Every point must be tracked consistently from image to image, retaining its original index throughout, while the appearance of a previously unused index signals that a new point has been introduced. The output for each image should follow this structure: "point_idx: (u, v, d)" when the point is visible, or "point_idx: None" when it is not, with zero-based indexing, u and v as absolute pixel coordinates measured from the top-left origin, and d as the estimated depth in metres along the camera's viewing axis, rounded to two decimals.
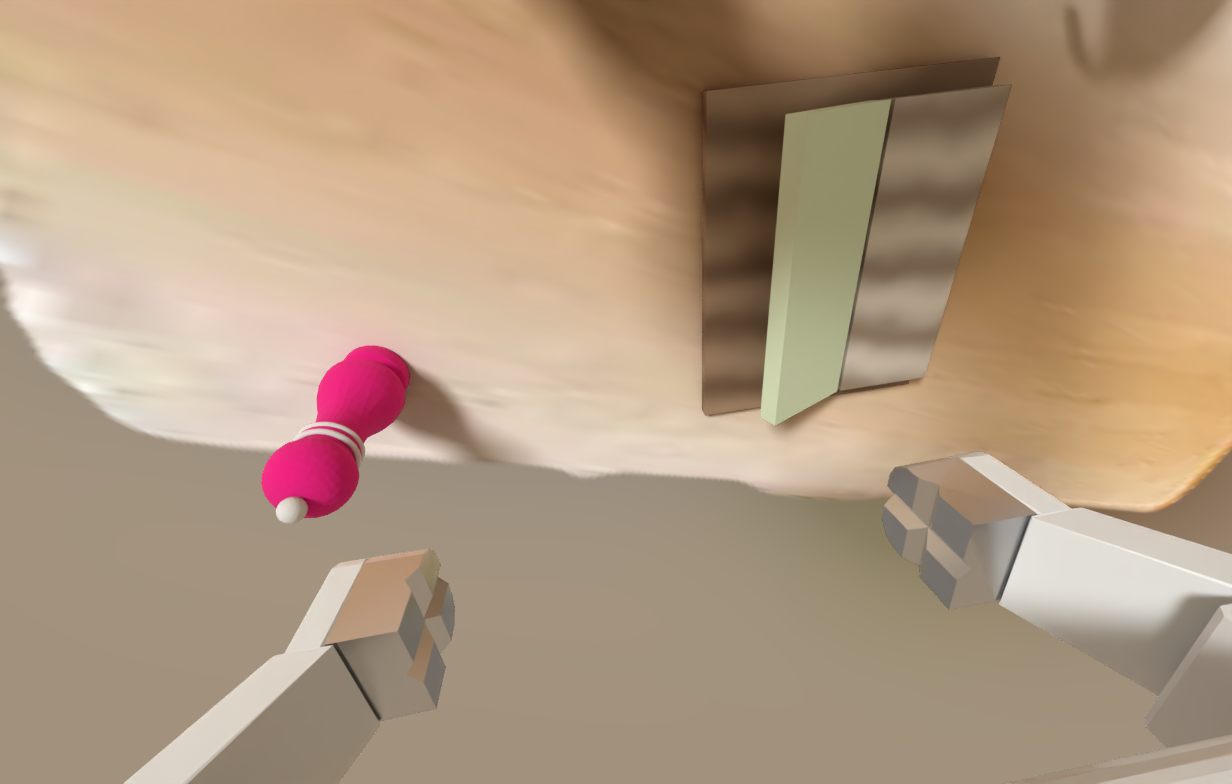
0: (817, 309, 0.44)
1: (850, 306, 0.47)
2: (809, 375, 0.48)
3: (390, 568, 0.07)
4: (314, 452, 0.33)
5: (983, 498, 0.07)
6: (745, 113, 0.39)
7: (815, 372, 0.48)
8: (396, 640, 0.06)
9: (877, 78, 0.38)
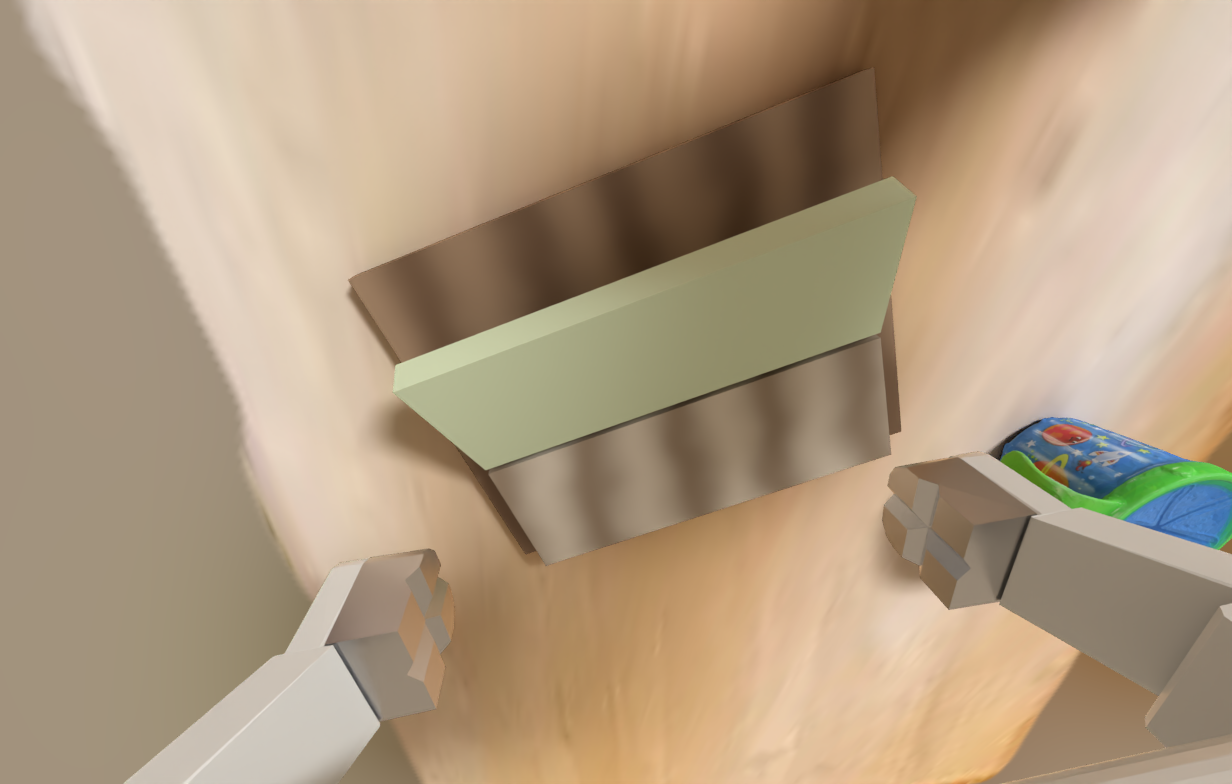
0: (618, 366, 0.27)
1: (622, 419, 0.31)
2: (506, 410, 0.28)
3: (390, 568, 0.07)
4: None
5: (983, 498, 0.07)
6: (846, 145, 0.27)
7: (512, 418, 0.29)
8: (396, 640, 0.06)
9: None
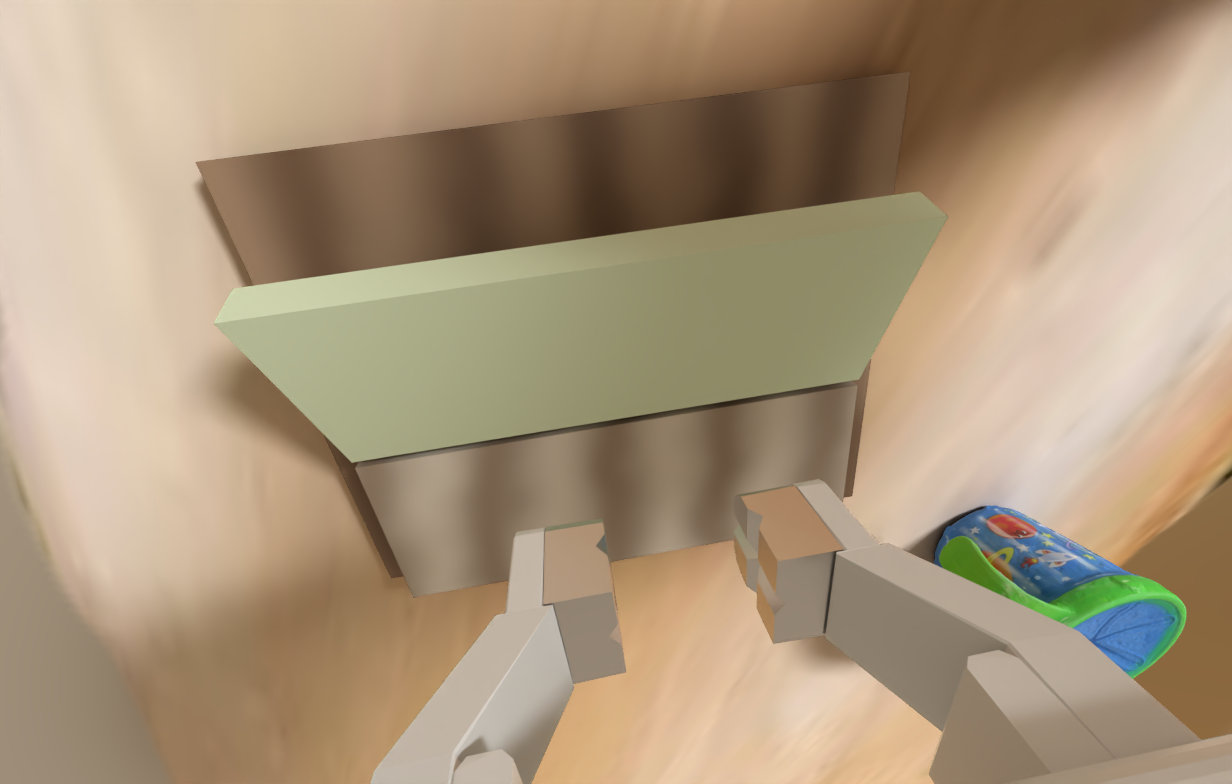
0: (552, 355, 0.21)
1: (545, 426, 0.25)
2: (389, 384, 0.21)
3: (575, 536, 0.07)
4: None
5: (799, 532, 0.07)
6: (863, 154, 0.23)
7: (397, 398, 0.21)
8: (607, 601, 0.06)
9: None
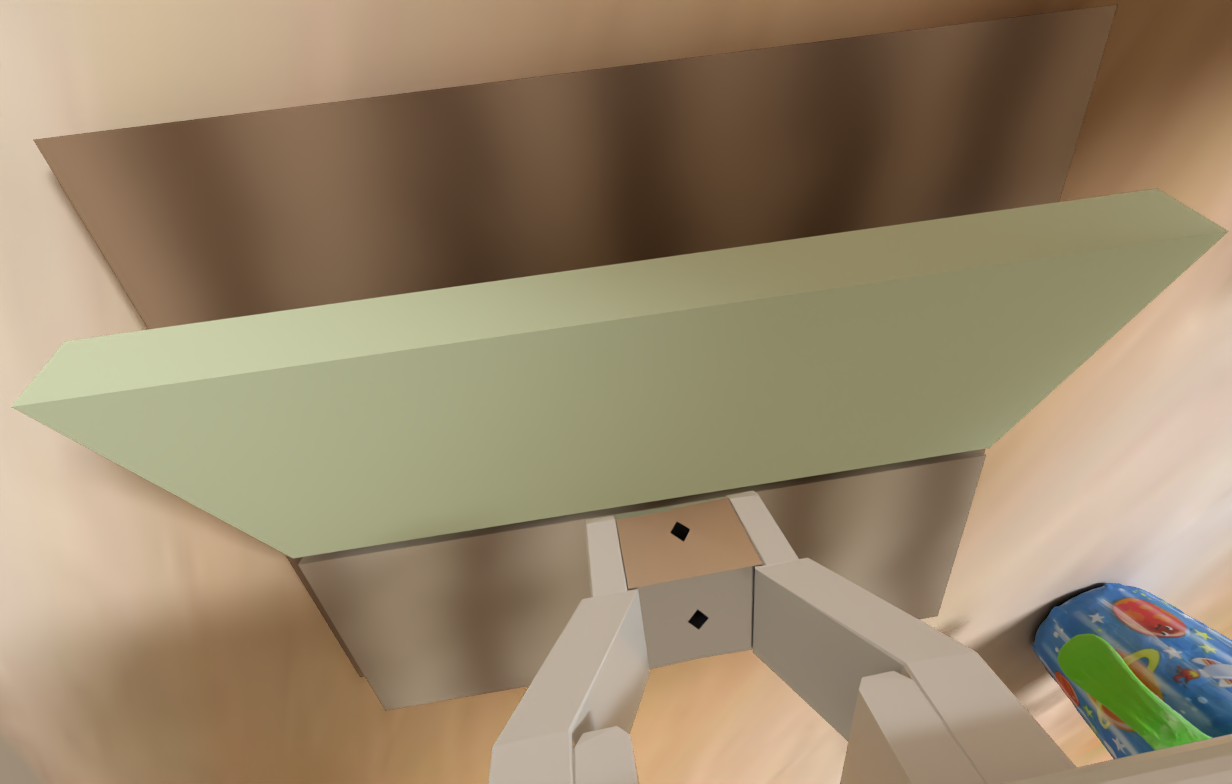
0: (570, 433, 0.14)
1: (557, 512, 0.18)
2: (328, 474, 0.14)
3: (647, 523, 0.07)
4: None
5: (722, 545, 0.07)
6: (1027, 133, 0.16)
7: (343, 490, 0.15)
8: (690, 586, 0.06)
9: None
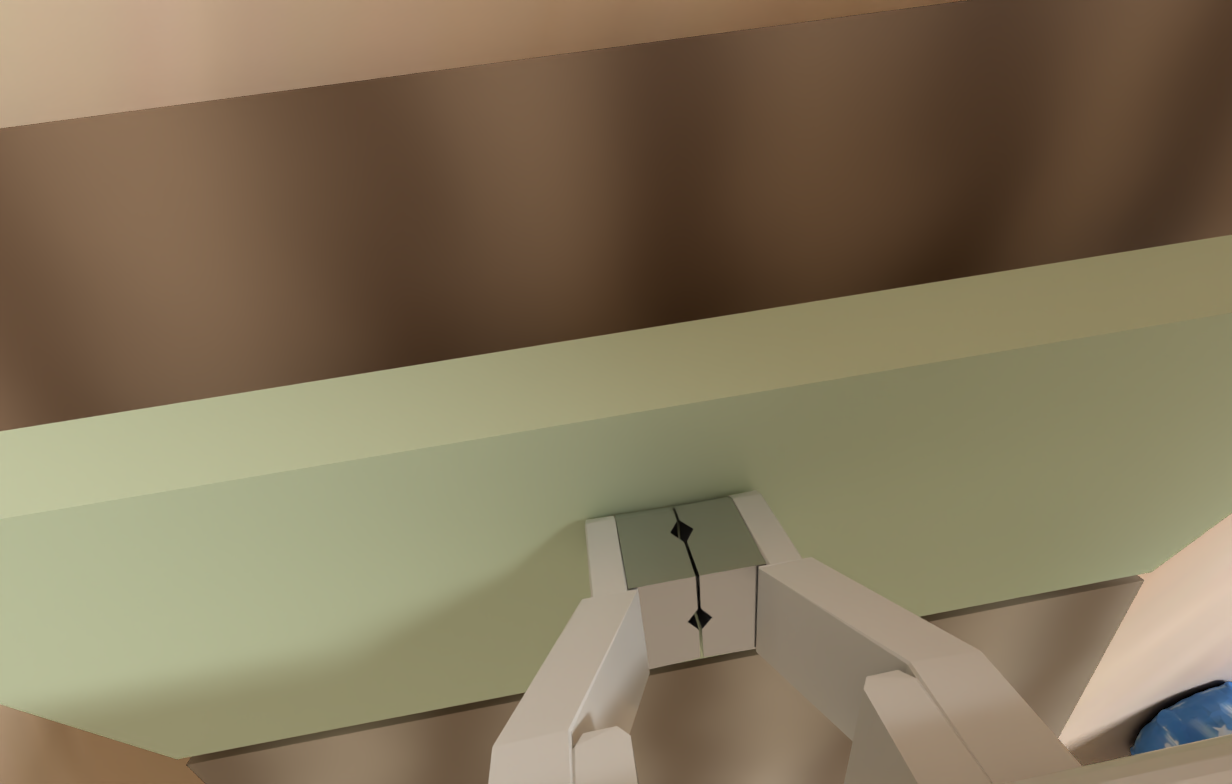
0: (570, 580, 0.09)
1: None
2: (204, 654, 0.09)
3: (647, 523, 0.07)
4: None
5: (726, 544, 0.07)
6: None
7: (233, 672, 0.10)
8: (689, 586, 0.06)
9: None
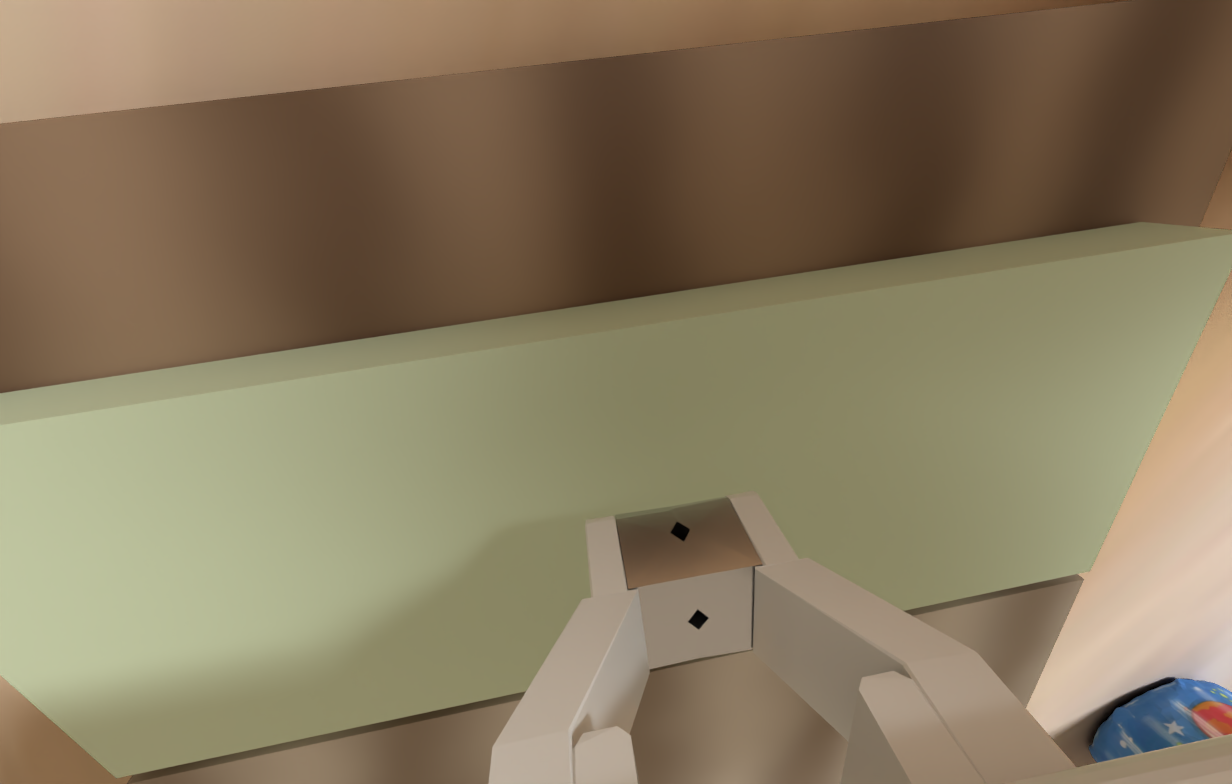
0: (516, 529, 0.11)
1: (511, 684, 0.13)
2: (181, 601, 0.10)
3: (647, 523, 0.07)
4: None
5: (722, 545, 0.07)
6: (1160, 162, 0.11)
7: (201, 632, 0.10)
8: (690, 586, 0.06)
9: None
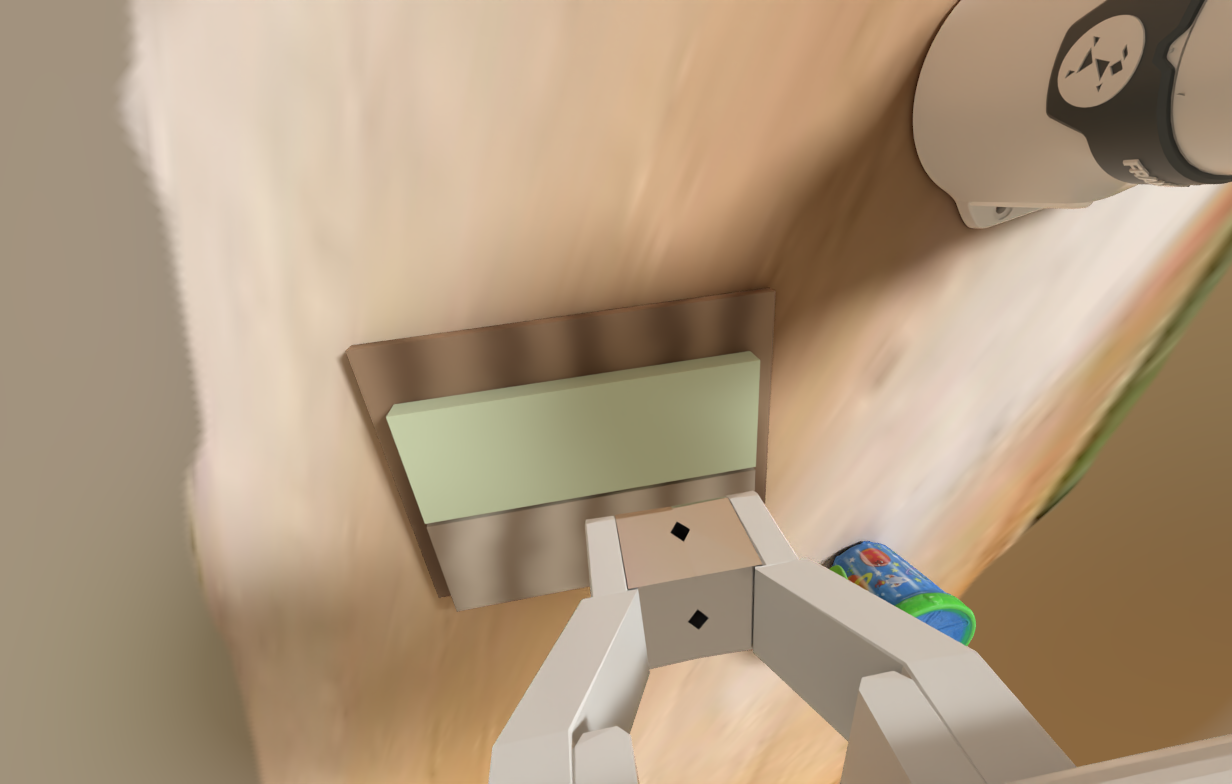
0: (556, 441, 0.36)
1: (551, 498, 0.39)
2: (462, 459, 0.36)
3: (647, 523, 0.07)
4: None
5: (723, 546, 0.07)
6: (751, 334, 0.37)
7: (464, 470, 0.36)
8: (689, 586, 0.06)
9: (762, 449, 0.42)
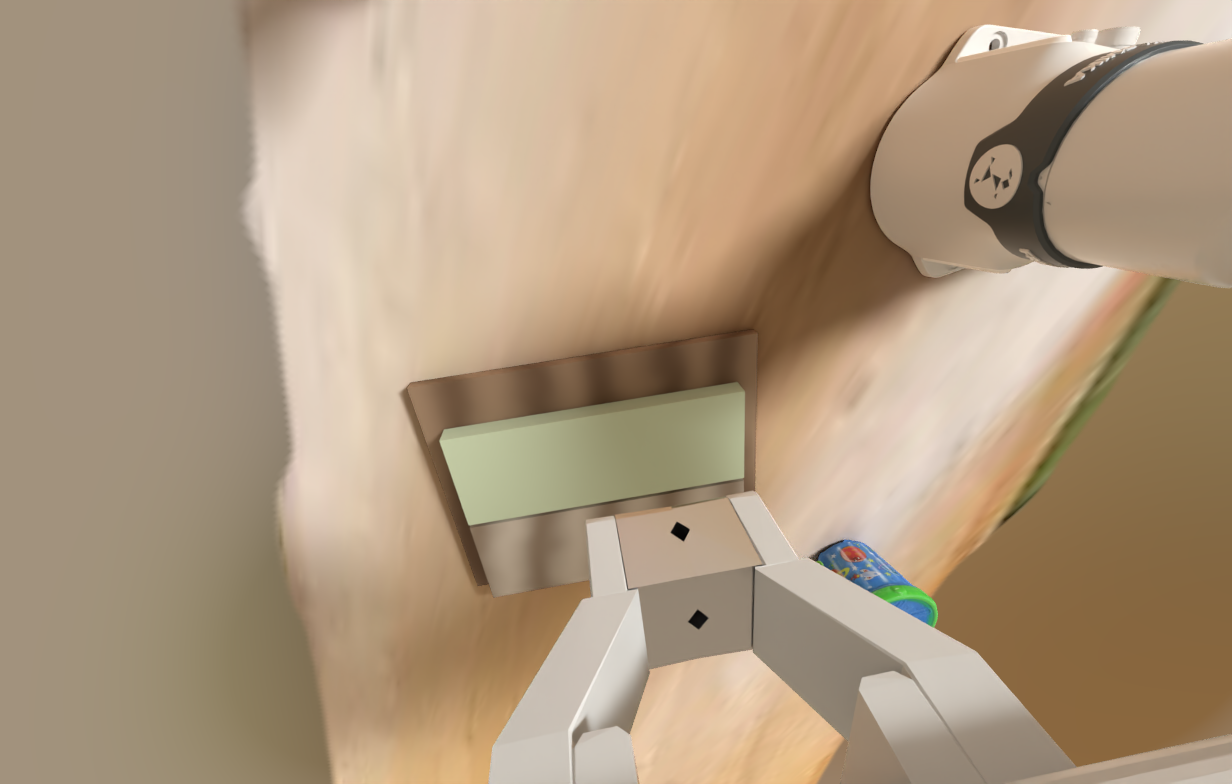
0: (576, 458, 0.44)
1: (571, 504, 0.46)
2: (499, 473, 0.44)
3: (647, 523, 0.07)
4: None
5: (722, 546, 0.07)
6: (738, 368, 0.44)
7: (501, 482, 0.44)
8: (690, 586, 0.06)
9: (750, 462, 0.49)
